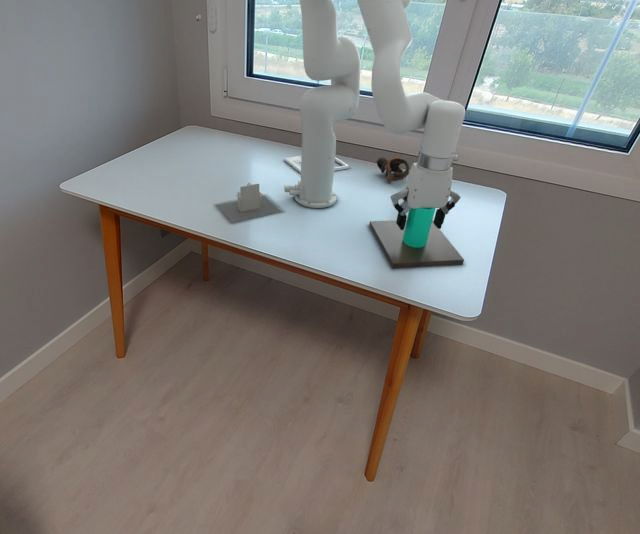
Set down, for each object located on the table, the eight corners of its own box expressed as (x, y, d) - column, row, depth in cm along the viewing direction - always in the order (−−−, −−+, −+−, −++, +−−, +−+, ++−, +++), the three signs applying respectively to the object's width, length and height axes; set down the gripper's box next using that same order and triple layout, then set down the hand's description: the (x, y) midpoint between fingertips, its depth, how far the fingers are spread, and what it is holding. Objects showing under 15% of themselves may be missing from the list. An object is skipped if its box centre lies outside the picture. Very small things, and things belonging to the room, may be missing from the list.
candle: (426, 249, 100) (437, 205, 93) (402, 245, 101) (411, 201, 94) (426, 237, 105) (437, 195, 98) (403, 233, 106) (412, 191, 99)
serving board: (392, 268, 95) (393, 263, 94) (369, 226, 111) (369, 221, 110) (462, 264, 99) (464, 259, 98) (430, 223, 114) (431, 219, 114)
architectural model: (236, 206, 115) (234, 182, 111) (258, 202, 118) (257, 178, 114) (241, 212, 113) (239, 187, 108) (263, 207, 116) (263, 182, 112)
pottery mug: (409, 176, 143) (416, 161, 135) (397, 195, 139) (404, 181, 131) (379, 161, 144) (384, 145, 137) (367, 179, 141) (371, 164, 133)
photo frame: (284, 157, 145) (327, 151, 153) (284, 160, 146) (327, 154, 154) (304, 172, 135) (349, 165, 143) (304, 175, 136) (348, 168, 144)
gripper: (462, 154, 95) (444, 218, 105) (392, 154, 92) (381, 220, 102) (478, 166, 89) (457, 233, 99) (404, 167, 86) (390, 235, 96)
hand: (418, 226), depth 101 cm, fingers open, 9 cm apart
